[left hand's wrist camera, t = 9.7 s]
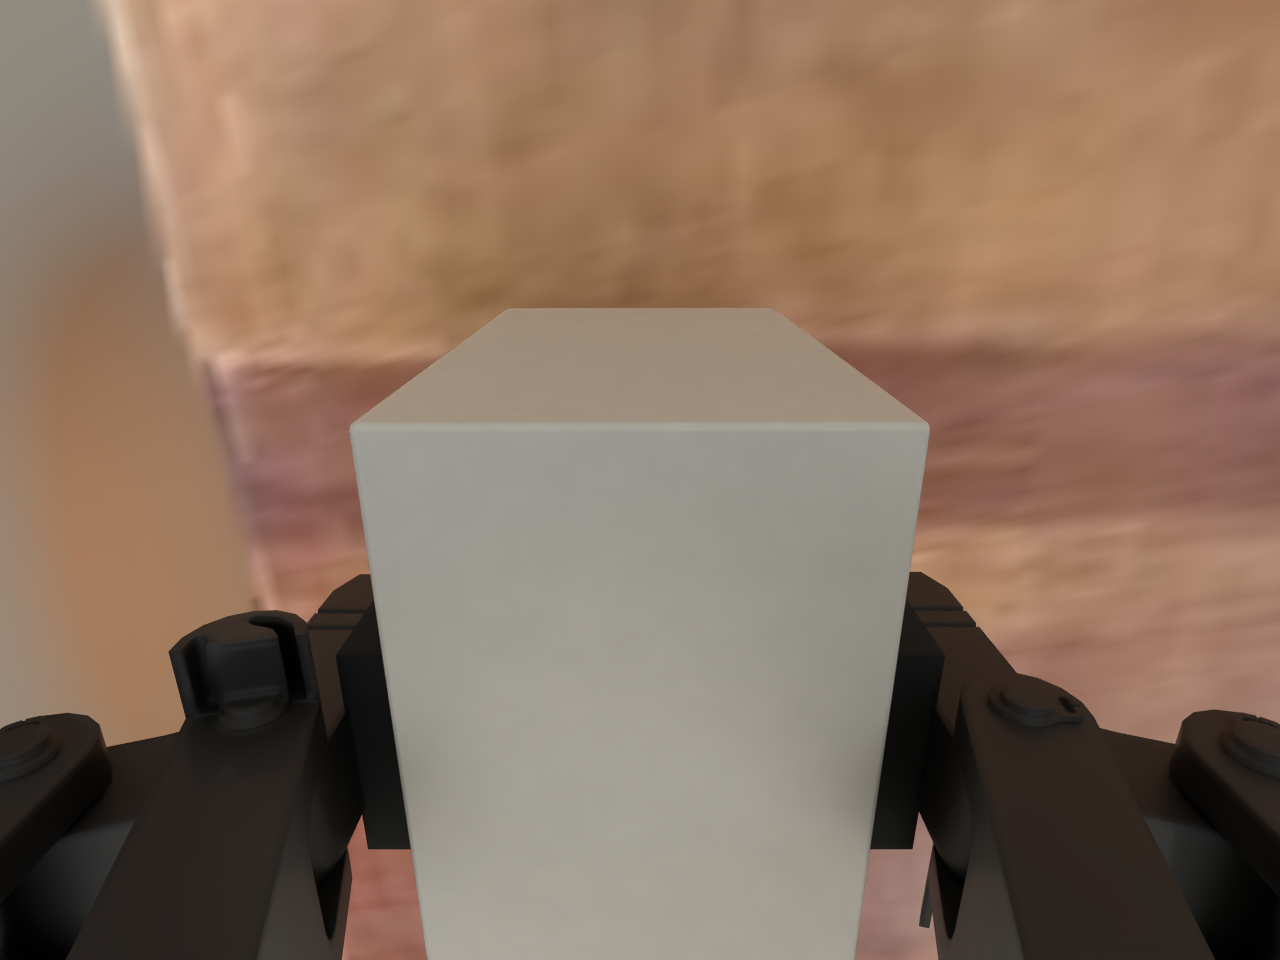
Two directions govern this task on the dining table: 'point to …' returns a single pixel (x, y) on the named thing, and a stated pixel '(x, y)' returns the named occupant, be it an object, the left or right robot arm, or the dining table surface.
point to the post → (640, 631)
